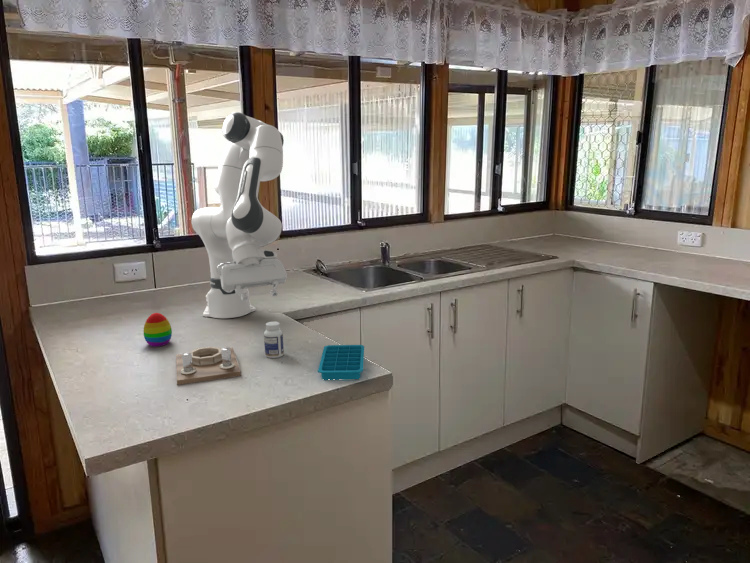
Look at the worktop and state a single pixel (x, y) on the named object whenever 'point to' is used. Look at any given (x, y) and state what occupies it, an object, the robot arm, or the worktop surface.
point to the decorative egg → (157, 330)
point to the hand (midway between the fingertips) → (260, 297)
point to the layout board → (206, 366)
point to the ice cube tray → (341, 362)
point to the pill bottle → (273, 340)
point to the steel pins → (190, 370)
